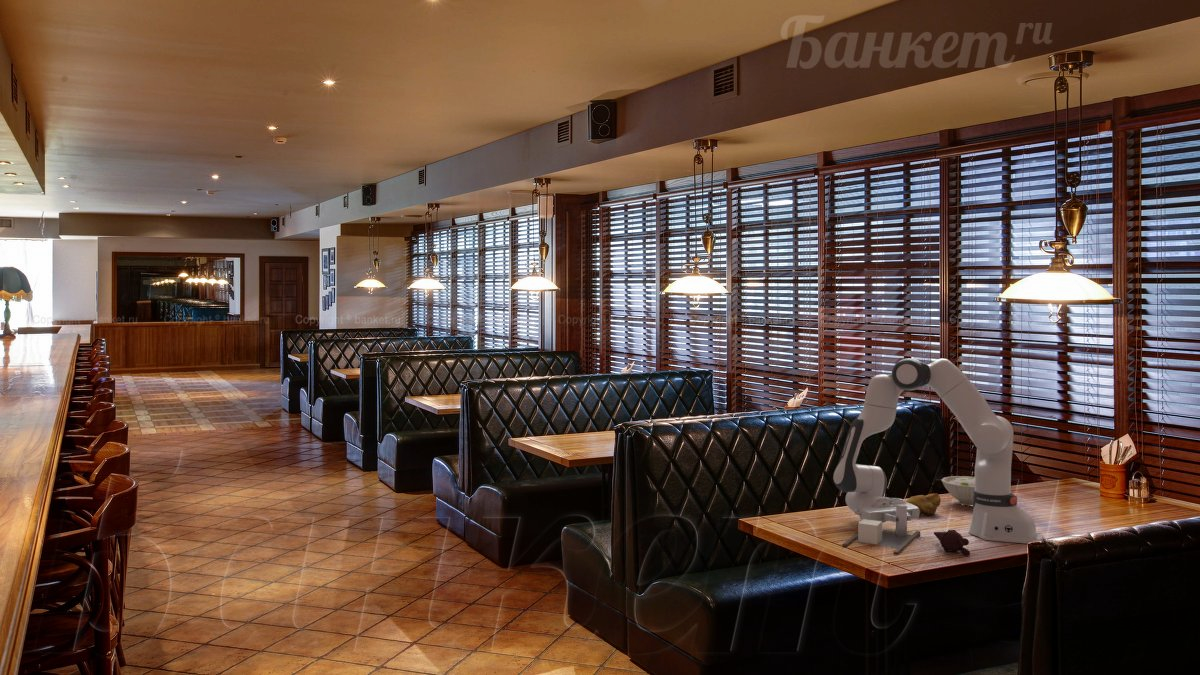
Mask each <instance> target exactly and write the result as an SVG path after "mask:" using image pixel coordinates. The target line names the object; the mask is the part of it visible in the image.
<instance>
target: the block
mask: <svg viewBox="0 0 1200 675" xmlns="http://www.w3.org/2000/svg"><path fill="white" fill-rule="evenodd" d="M882 531H883V523H882V521H875V520H867V519H863V520H862V519H861V521H859V522H858V523H857V532H858V538H857V539H858V542H857V543H859V542H864V543H863V544H866V543H871V544H870V545H872V544H878V543H879V542H880V541H881V540H882Z"/></svg>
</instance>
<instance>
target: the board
mask: <svg viewBox="0 0 1200 675" xmlns="http://www.w3.org/2000/svg"><path fill="white" fill-rule="evenodd" d="M896 516H898V522H895V532H893V531H885V530H884V531H883V530H882V540H881V541H880V542H879V543H878V544H871V543H864V542H858V538H857V539H856V540H855V541H854V543H860V544H866V545H867V544H868V545H874V546H881V547H887V548H895V549H897V548H898V547H899V546H900V545H901V544H903V543H904V542H905V541H906V540H907V539H908V538H909V537H910V536H911V535H912V534H909V533H908V521H907V505H902V504H898V505H896Z"/></svg>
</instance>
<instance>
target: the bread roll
mask: <svg viewBox="0 0 1200 675" xmlns="http://www.w3.org/2000/svg"><path fill="white" fill-rule="evenodd" d="M906 502H907V503H910V504H913V505H915V506H917V507H918V508H919V517H921V516H926V515H927V516H928V515H929V516H932V514H933V515H935V514H936V512H937V510H938V507H939V506H940V505H941V496H940V494H938V493H930V494H927V495H924V494H920V495H919V494H918V495H914V496H910V497H909V498H907V499H906ZM920 515H921V516H920Z"/></svg>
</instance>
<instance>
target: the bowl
mask: <svg viewBox="0 0 1200 675" xmlns="http://www.w3.org/2000/svg"><path fill="white" fill-rule="evenodd" d="M941 482H942V484H943V486H944V489H946V490H947V491H948V493H949V494H950V495H951V496H952V497H953V498H954V499H956V500H957V501H958V503H960V504H963V505H973V491H974V490H975V476H968V475H967V476H966V475H962V476H960V475H955V476H954V475H953V476H947V477H946V476H945V477H943V478H942V479H941Z"/></svg>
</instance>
